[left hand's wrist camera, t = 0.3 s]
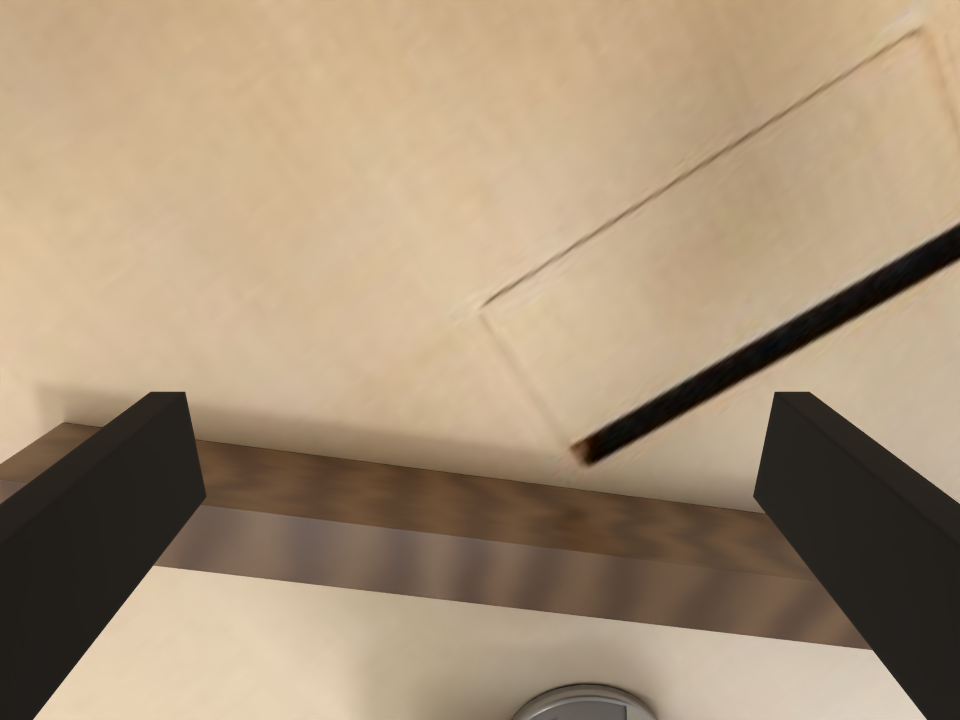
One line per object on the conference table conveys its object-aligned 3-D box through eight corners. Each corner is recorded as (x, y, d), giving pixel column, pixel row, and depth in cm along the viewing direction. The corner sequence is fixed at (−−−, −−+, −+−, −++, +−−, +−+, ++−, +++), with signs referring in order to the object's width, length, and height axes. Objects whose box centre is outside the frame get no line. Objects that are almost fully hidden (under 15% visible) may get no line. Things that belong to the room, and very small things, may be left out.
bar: (989, 542, 47) (1079, 613, 40) (958, 593, 49) (1039, 669, 42) (62, 422, 43) (-20, 477, 36) (70, 483, 45) (-7, 547, 38)
